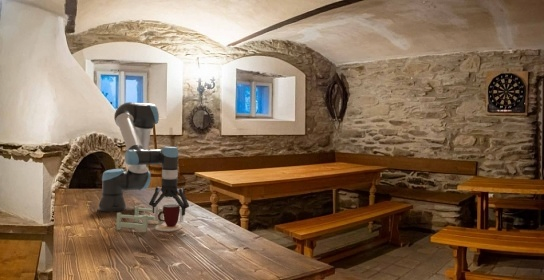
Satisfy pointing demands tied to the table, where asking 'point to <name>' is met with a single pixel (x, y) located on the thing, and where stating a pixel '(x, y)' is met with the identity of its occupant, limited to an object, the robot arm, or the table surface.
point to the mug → (170, 214)
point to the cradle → (137, 217)
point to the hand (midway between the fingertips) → (168, 220)
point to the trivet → (167, 227)
